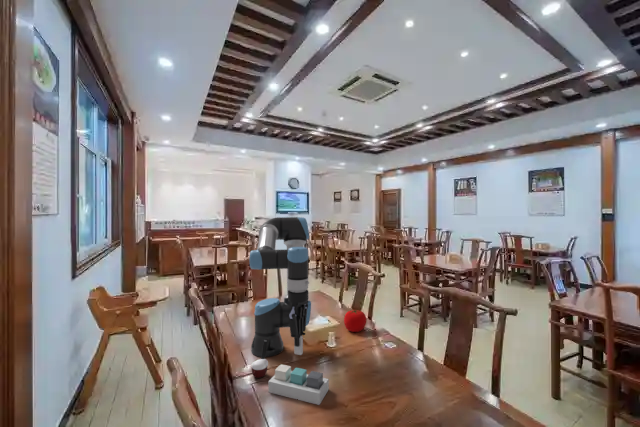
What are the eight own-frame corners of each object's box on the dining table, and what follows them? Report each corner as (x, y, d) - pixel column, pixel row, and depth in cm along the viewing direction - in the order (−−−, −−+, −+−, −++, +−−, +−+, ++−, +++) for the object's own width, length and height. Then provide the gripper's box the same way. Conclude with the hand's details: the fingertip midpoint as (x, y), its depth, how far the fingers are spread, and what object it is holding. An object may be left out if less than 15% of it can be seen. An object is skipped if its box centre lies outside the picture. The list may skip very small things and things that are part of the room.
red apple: (341, 333, 162) (340, 312, 162) (348, 324, 175) (348, 305, 174) (362, 336, 158) (362, 315, 158) (368, 327, 170) (368, 307, 170)
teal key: (290, 384, 110) (290, 373, 110) (295, 377, 114) (295, 367, 114) (301, 386, 108) (301, 375, 108) (306, 380, 113) (306, 369, 112)
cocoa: (255, 383, 116) (255, 352, 116) (246, 377, 121) (245, 347, 120) (274, 372, 124) (274, 343, 123) (264, 367, 128) (264, 339, 128)
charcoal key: (306, 388, 108) (306, 377, 108) (311, 381, 112) (311, 370, 112) (318, 390, 106) (318, 379, 106) (322, 383, 110) (322, 373, 110)
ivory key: (275, 380, 112) (274, 369, 112) (280, 374, 117) (280, 364, 117) (285, 383, 111) (285, 372, 111) (291, 376, 115) (290, 366, 115)
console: (268, 392, 111) (268, 381, 111) (281, 378, 119) (280, 368, 119) (319, 405, 103) (319, 393, 103) (328, 389, 112) (328, 378, 112)
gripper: (299, 295, 103) (300, 364, 104) (314, 286, 115) (314, 347, 116) (280, 293, 106) (280, 360, 106) (296, 284, 118) (297, 344, 118)
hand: (298, 353), depth 111 cm, fingers closed
